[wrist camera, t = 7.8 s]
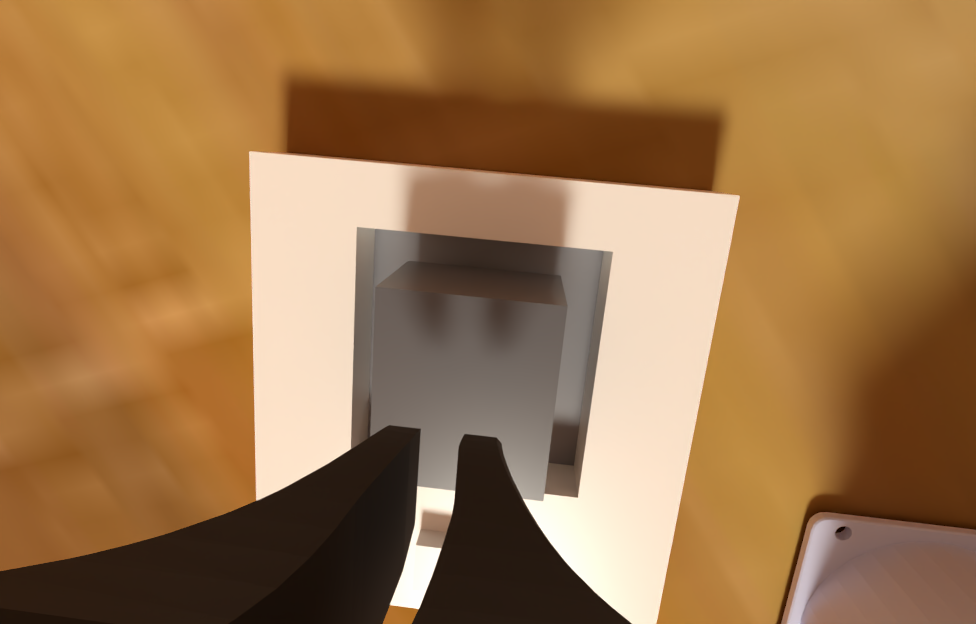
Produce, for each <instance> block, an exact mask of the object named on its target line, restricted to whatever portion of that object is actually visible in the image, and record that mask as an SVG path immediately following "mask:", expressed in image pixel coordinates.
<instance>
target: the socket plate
mask: <svg viewBox="0 0 976 624" xmlns="http://www.w3.org/2000/svg"><path fill="white" fill-rule="evenodd" d="M249 159H250V209H251V259H252V309H253V359H254V408H255V458H256V501H257V500H260V499H262V498H264V497H266V496H268V495H270V494H273V493H275V492H277V491H279V490H281V489H283V488H285V487H287V486H289V485H290V484H292V483H294V482H296V481H298V480H299V479H301V478H303V477H305V476H307V475H308V474H310V473H312V472H314V471H316V470H317V469H319V468H321V467H323V466H325V465H326V464H328V463H330V462H331V461H333V460H335V459H336V458H338V457H339V456H341V455H342V454H344V453H346V452H347V451H349V450H350V449H352V448H354V447H355V446H357V445H358V444H360V443H361V442H363V441H364V440H366V439H367V438H369V437H370V425H371V396H372V368H373V339H374V311H375V287H376V286H377V285H378V284H379V283H381V282H382V281H383V280H385V279H386V278H387V277H388V276H390V275H391V274H392V273H393V272H395V271H396V270H397V269H398V268H400V267H401V266H402V265H404V264H405V263H406V262H407V261H417V262H428V263H438V264H448V265H458V266H468V267H478V268H489V269H499V270H509V271H519V272H529V273H540V274H550V275H560V276H561V279H562V283H563V288H564V292H565V297H566V301H567V306H568V307H567V315H566V323H565V331H564V339H563V348H562V356H561V364H560V372H559V380H558V388H557V396H556V404H555V412H554V420H553V428H552V436H551V444H550V452H549V460H548V468H547V476H546V484H545V492H544V500H543V501H536V500H528V499H523V500H524V502H525V504H526V506H527V507H528V509H529V511H530V512H531V514H532V516H533V517H534V519H535V521H536V522H537V524H538V525H539V527H540V528H541V530H542V531H543V533H544V534H545V536H546V537H547V539H548V540H549V541H550V543H551V544H552V545H553V547H554V548H555V549H556V550H557V552H558V553H559V554H560V556H561V557H562V558H563V559H564V561H565V562H566V563H567V564H568V565H569V566H570V567H571V569H572V570H573V571H574V572H575V573H576V574H577V575H578V576H579V577H580V578H581V579H582V580H583V581H584V582H585V583H586V584H587V585H588V586H589V587H590V588H591V589H592V590H593V591H594V592H595V593H596V594H598V595H599V596H600V597H601V598H602V599H603V600H604V601H605V602H607V603H608V604H609V605H610V606H611V607H612V608H613V609H615V610H616V611H617V612H618V613H619V614H621V615H622V616H623V617H624V618H626V619H627V620H628V621H629V622H631V623H632V624H656V623H657V618H658V612H659V607H660V602H661V597H662V592H663V587H664V582H665V577H666V571H667V566H668V561H669V556H670V551H671V546H672V541H673V536H674V530H675V525H676V520H677V515H678V510H679V505H680V500H681V495H682V490H683V484H684V479H685V474H686V469H687V464H688V459H689V454H690V449H691V443H692V438H693V433H694V428H695V423H696V418H697V413H698V408H699V402H700V397H701V392H702V387H703V382H704V377H705V372H706V367H707V362H708V356H709V351H710V346H711V341H712V336H713V331H714V326H715V321H716V315H717V310H718V305H719V300H720V295H721V290H722V285H723V280H724V274H725V269H726V264H727V259H728V254H729V249H730V244H731V239H732V234H733V228H734V223H735V218H736V213H737V208H738V203H739V198H740V196H739V195H733V194H727V193H721V192H715V191H706V190H695V189H684V188H673V187H662V186H651V185H640V184H629V183H618V182H607V181H596V180H585V179H574V178H562V177H551V176H540V175H529V174H518V173H507V172H496V171H485V170H474V169H463V168H452V167H441V166H430V165H419V164H408V163H397V162H385V161H374V160H363V159H352V158H341V157H330V156H319V155H308V154H297V153H285V152H256V151H249ZM454 498H455V491H452V490H444V489H436V488H427V487H419V486H417V500H416V516H415V526H414V530H413V534H412V538H411V542H410V546H409V550H408V554H407V557H406V561H405V565H404V569H403V572H402V575H401V577H400V580H399V583H398V585H397V588H396V590H395V593H394V595H393V598H392V601H391V603H390V605H395V606H402V607H410V608H417V609H419V608H420V605H421V603H422V600H423V598H424V595H425V593H426V590H427V587H428V585H429V582H430V580H431V577H432V575H433V572H434V569H435V566H436V563H437V560H438V557H439V554H440V551H441V548H442V545H443V542H444V539H445V536H446V533H447V529H448V526H449V523H450V519H451V516H452V511H453V506H454Z"/></svg>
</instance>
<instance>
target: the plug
mask: <svg viewBox="0 0 976 624" xmlns="http://www.w3.org/2000/svg"><path fill="white" fill-rule="evenodd" d="M567 307H568V306H567V301H566V297H565V292H564V288H563V283H562V279H561V276H560V275H550V274H540V273H529V272H519V271H509V270H499V269H489V268H478V267H468V266H458V265H448V264H438V263H428V262H417V261H407V262H406V263H405V264H404V265H402V266H401V267H400V268H398V269H397V270H396V271H395V272H393V273H392V274H391V275H390V276H388V277H387V278H386V279H385V280H383V281H382V282H381V283H379V284H378V285H377V286H376V287H375V311H374V339H373V368H372V396H371V425H370V437H371V436H372V435H374V434H375V433H377V432H378V431H380V430H381V429H383V428H385V427H387V426H389V425H393V426H401V427H410V428H419V429H421V435H420V451H419V468H418V484H417V486H419V487H427V488H436V489H444V490H452V491H455V486H456V473H457V461H458V449H459V444H460V442H461V440H462V438H463V436H464V434H471V435H480V436H488V437H497V438H498V440H499V441H500V442H501V443H502V449H503V454H504V457H505V460H506V463H507V466H508V468H509V471H510V473H511V476H512V478H513V480H514V482H515V484H516V486H517V488H518V490H519V492H520V494H521V496H522V498H523V499H528V500H536V501H543V500H544V492H545V484H546V476H547V468H548V460H549V452H550V444H551V436H552V428H553V420H554V412H555V404H556V396H557V388H558V380H559V372H560V364H561V356H562V348H563V339H564V331H565V323H566V315H567Z"/></svg>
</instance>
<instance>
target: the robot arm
mask: <svg viewBox="0 0 976 624" xmlns="http://www.w3.org/2000/svg"><path fill="white" fill-rule="evenodd" d="M420 435H421V429H419V428H410V427H401V426H393V425H389V426H387V427H385V428H383V429H381V430H380V431H378V432H377V433H375V434H374V435H372V436H371V437H369V438H367V439H366V440H364V441H363V442H361V443H360V444H358V445H357V446H355V447H354V448H352V449H350V450H349V451H347V452H346V453H344V454H342V455H341V456H339V457H338V458H336V459H335V460H333V461H331V462H330V463H328V464H326V465H325V466H323V467H321V468H319V469H317V470H316V471H314V472H312V473H310V474H308V475H307V476H305V477H303V478H301V479H299V480H298V481H296V482H294V483H292V484H290V485H289V486H287V487H285V488H283V489H281V490H279V491H277V492H275V493H273V494H270V495H268V496H266V497H264V498H262V499H260V500H257V501H255V502H253V503H250V504H248V505H246V506H243V507H241V508H239V509H236V510H234V511H231V512H229V513H226V514H224V515H221V516H218V517H215V518H212V519H209V520H206V521H203V522H200V523H197V524H195V525H192V526H189V527H186V528H183V529H180V530H177V531H174V532H171V533H168V534H165V535H162V536H158V537H155V538H151V539H148V540H144V541H140V542H137V543H133V544H130V545H126V546H122V547H118V548H113V549H109V550H105V551H101V552H97V553H93V554H89V555H84V556H80V557H75V558H70V559H65V560H60V561H55V562H49V563H44V564H38V565H33V566H27V567H22V568H16V569H11V570H5V571H0V624H382V623H383V621H384V618H385V616H386V613H387V611H388V608H389V606H390V603H391V601H392V598H393V595H394V593H395V590H396V588H397V585H398V583H399V580H400V577H401V575H402V572H403V569H404V565H405V561H406V557H407V554H408V550H409V546H410V542H411V538H412V534H413V530H414V526H415V516H416V500H417V484H418V468H419V451H420ZM843 526H846V527H845V529H844V530H843V531H842V532H840V533H835V532H836V530H837V529H838V528H840V527H843ZM412 624H632V623H631V622H629V621H628V620H627V619H626V618H624V617H623V616H622V615H621V614H619V613H618V612H617V611H616V610H615V609H613V608H612V607H611V606H610V605H609V604H608V603H607V602H605V601H604V600H603V599H602V598H601V597H600V596H599V595H598V594H596V593H595V592H594V591H593V590H592V589H591V588H590V587H589V586H588V585H587V584H586V583H585V582H584V581H583V580H582V579H581V578H580V577H579V576H578V575H577V574H576V573H575V572H574V571H573V570H572V569H571V567H570V566H569V565H568V564H567V563H566V562H565V561H564V559H563V558H562V557H561V556H560V554H559V553H558V552H557V550H556V549H555V548H554V547H553V545H552V544H551V543H550V541H549V540H548V539H547V537H546V536H545V534H544V533H543V531H542V530H541V528H540V527H539V525H538V524H537V522H536V521H535V519H534V517H533V516H532V514H531V512H530V511H529V509H528V507H527V506H526V504H525V502H524V500H523V498H522V496H521V494H520V492H519V490H518V488H517V486H516V484H515V482H514V480H513V478H512V476H511V473H510V471H509V468H508V466H507V463H506V460H505V457H504V454H503V449H502V443H501V442H500V441H499V440H498V438H497V437H488V436H480V435H471V434H464V436H463V438H462V440H461V442H460V444H459V449H458V461H457V473H456V486H455V498H454V506H453V511H452V516H451V519H450V523H449V526H448V529H447V533H446V536H445V539H444V542H443V545H442V548H441V551H440V554H439V557H438V560H437V563H436V566H435V569H434V572H433V575H432V577H431V580H430V582H429V585H428V587H427V590H426V593H425V595H424V598H423V600H422V603H421V605H420V608H419V610H418V612H417V614H416V616H415V618H414V621H413V623H412ZM781 624H976V530H974V529H965V528H957V527H948V526H940V525H931V524H923V523H915V522H906V521H898V520H889V519H881V518H872V517H864V516H856V515H847V514H839V513H830V512H820V513H817V514H815V515H813V516H812V517H811V518H810V519H809V521H808V523H807V527H806V531H805V535H804V539H803V542H802V546H801V550H800V554H799V558H798V561H797V565H796V569H795V573H794V577H793V580H792V584H791V588H790V592H789V596H788V599H787V603H786V607H785V611H784V615H783V618H782V622H781Z"/></svg>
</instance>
